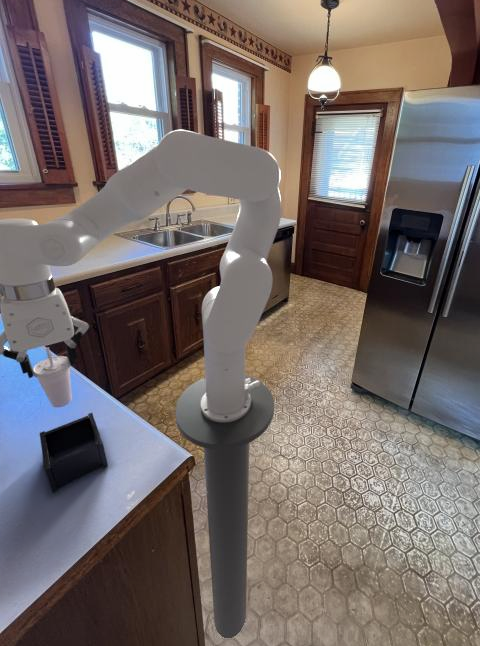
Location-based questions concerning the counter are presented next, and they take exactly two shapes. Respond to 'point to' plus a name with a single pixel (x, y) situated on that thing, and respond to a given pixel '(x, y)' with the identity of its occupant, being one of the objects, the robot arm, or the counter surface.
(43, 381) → the smoothie
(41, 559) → the counter surface
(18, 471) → the counter surface
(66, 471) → the bottle stand
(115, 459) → the counter surface
